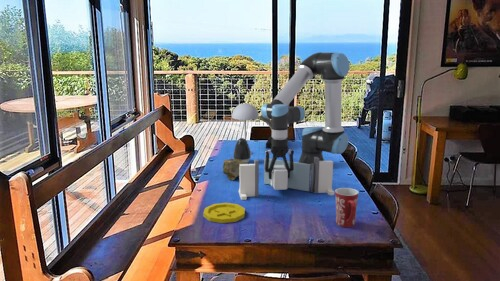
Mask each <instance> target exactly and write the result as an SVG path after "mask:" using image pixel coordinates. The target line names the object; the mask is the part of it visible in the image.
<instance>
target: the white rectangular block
mask: <svg viewBox="0 0 500 281" xmlns="http://www.w3.org/2000/svg"><path fill="white" fill-rule="evenodd" d="M272 172H273V186H272V187H273V190H274V191H278V190H288V188H287V169H286V168H285V166H284V165H274V167H273V170H272Z"/></svg>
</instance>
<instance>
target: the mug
mask: <svg viewBox="0 0 500 281" xmlns="http://www.w3.org/2000/svg"><path fill="white" fill-rule="evenodd" d="M334 192H335V223H336V225H337V226H338V225H339V227H340V228H341V227H342V228H353V227H355V225H356V217H357V208H358V197H359V194H360V192H359V190H357V189H355V188H351V187H339V188H336V189H335V190H334Z"/></svg>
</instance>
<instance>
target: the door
mask: <svg viewBox="0 0 500 281" xmlns="http://www.w3.org/2000/svg"><path fill="white" fill-rule="evenodd" d="M265 160H266V157H264V159H263V184H265V185H270V186H271V179H269V172H266V171H265ZM271 161H272V158H270V157H269V167H270V164H271ZM298 162H299V161H293V164H294V170H293V171H290V178H288V186H287V189H292V190H297V191H298V190H299V191H305V192H310V193H314V192H313V186H314V163H311V164H305V163H298ZM287 163H288V166H289V168H290V160H287ZM274 165H284V166H285V164H284V161H283V159H278V158H277V159H276V161H275V164H274ZM269 167H268V169H269ZM285 168H286V167H285Z"/></svg>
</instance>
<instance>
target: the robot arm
mask: <svg viewBox="0 0 500 281" xmlns="http://www.w3.org/2000/svg"><path fill="white" fill-rule="evenodd" d="M349 71H350V61H349V58H348V56H347V55H346V54H345V53H342V52H315V53H313V54H311V55H310V56H307V57H306V58H305V59H303V60H302V62H301V63H300V64H299V65H298V66H297V68H296V72H295V73H294V74H293V75H292V77H290V79H289V80H288V81H287V82H286V84H285V85H284V86H283V88H281V90H280V91H279V92H278V93H277V95H276V96H275V97H274V98H273V100H272V101H271V102H270V103H269V102H268V103H266V102H265V104H263V105H262V107H261V108H260V114H261V115H262V116H263V117H264V118H268V119H270V120H271V119H272V131H271V136H272V147H271V149H268V150H267V149H266V150H265V151H264V153H265V158H266V160H265V171H266V172H269V179H271V185H270V186H271V187H273V172H272V170H273V167H274V164H275V161H276V159H277V160H278V159H279V158H282V160H283V161H284V164H285V167H286V169H287V186H288V178H290V171H293V170H294V164H293V162H294V153H295V151H294V149H292V148H291V149H289V146H288V144H289V136H288V135H289V124H294V123H299V122H302V121H304V119H305V117H306V111H305V109H304V108H303V107H302V106H301V105H294V106H290V103H291V102H292V101H293V99H295V97H296V96H297V94H298V93H299V92H300V91H301V90H302V88H303V87H304V86H305V84H306V83H307V82H308V81H309V80H312V79H313V77H315V76H318V75H319V76H321V80H322V81H323V82H324V120H325V122H324V127H323V126H320V125H319V126H317V125H316V126H314V125H313V126H307V127H304V128H303V129H302V133H301V134H302V135H301V138H302V139H301V154H300V157H299V160H298V161H297V162H298V163H305V164H311V163H314V157H318V158H319V161H325V159H324V156H323V152H325V153H330V154H335V155H341V154H343V153H344V152H345V151H346V149H347V147H348V146H349V140H350V139H349V135H348V134H347V133H345V128H344V127H343V126H342V93H343V92H342V90H343V89H342V84H343V81H344V80H345V77H346V76H347V75H348V74H349ZM287 137H288V139H287ZM271 154H272V158H271V159H272V161H271V164H270V167H269V158H270V155H271ZM287 154H288V156H289V161H290V168H289V166H288V163H287V161H288V159H287V157H286V155H287ZM268 167H269V169H268Z"/></svg>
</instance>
